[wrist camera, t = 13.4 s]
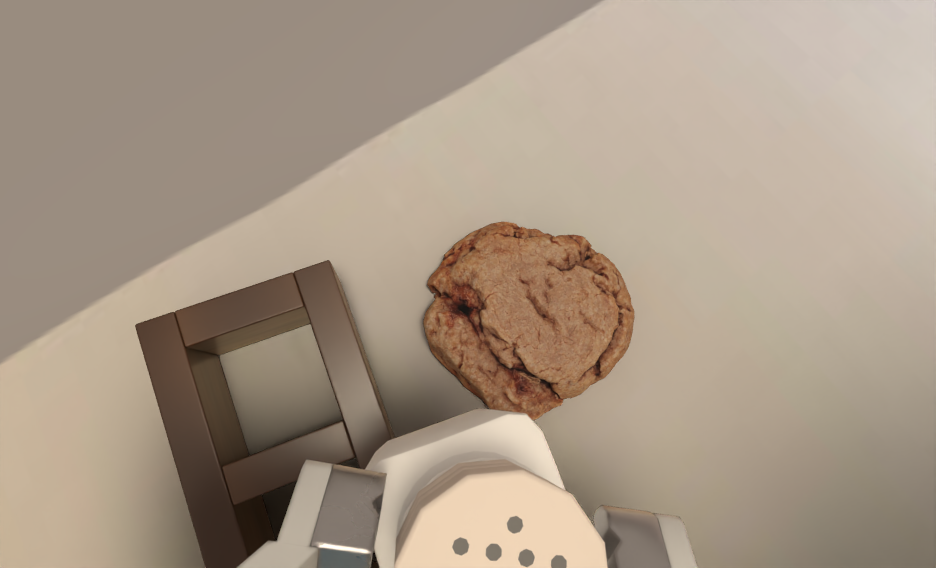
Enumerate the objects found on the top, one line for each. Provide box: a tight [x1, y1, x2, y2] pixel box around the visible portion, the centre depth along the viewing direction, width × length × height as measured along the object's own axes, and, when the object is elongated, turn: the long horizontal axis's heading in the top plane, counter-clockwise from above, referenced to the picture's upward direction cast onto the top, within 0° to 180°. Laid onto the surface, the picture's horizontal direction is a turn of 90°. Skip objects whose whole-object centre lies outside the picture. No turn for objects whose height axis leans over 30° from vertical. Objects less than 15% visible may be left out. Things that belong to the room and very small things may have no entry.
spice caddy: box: [135, 260, 395, 568], centre depth 26 cm, size 8×15×4 cm, turn 21°
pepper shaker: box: [365, 409, 608, 568], centre depth 13 cm, size 4×4×10 cm
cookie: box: [423, 222, 634, 420], centre depth 29 cm, size 10×11×3 cm
